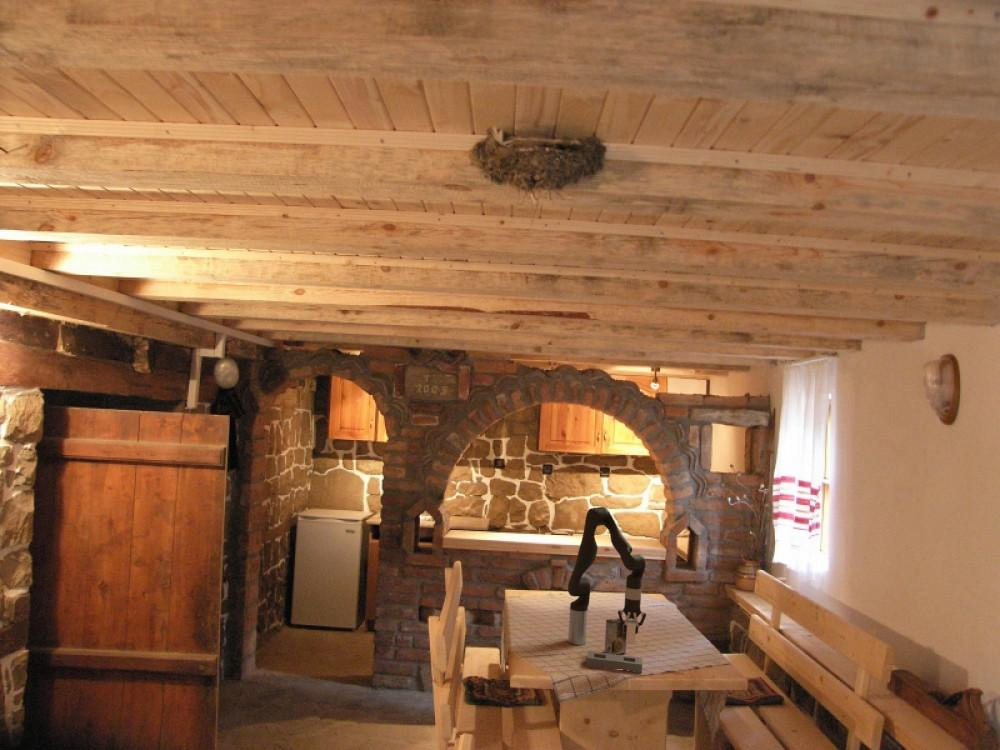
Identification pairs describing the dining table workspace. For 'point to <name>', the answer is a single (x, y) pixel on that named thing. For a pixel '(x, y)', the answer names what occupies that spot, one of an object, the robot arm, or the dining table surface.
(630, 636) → the plug
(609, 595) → the dining table surface
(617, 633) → the coffee box
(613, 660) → the jack board
